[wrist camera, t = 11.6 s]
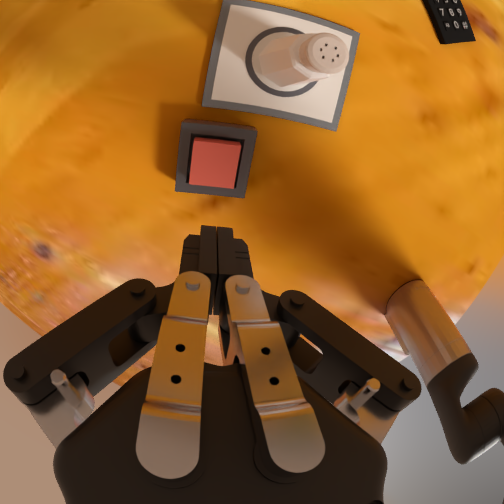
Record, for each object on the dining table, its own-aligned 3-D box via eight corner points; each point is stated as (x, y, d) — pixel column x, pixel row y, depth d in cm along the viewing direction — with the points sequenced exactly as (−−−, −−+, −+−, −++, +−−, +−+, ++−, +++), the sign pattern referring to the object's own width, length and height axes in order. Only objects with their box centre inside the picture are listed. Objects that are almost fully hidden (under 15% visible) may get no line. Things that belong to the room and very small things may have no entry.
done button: (232, 182, 27) (233, 188, 25) (190, 177, 26) (188, 184, 24) (239, 141, 24) (241, 146, 23) (195, 136, 24) (193, 140, 22)
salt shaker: (318, 46, 20) (376, 33, 11) (306, 93, 23) (358, 105, 14) (263, 32, 19) (294, 2, 10) (252, 81, 22) (275, 80, 13)
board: (334, 130, 26) (337, 132, 26) (201, 105, 24) (201, 106, 23) (357, 33, 20) (361, 33, 19) (223, -2, 17) (224, -4, 16)
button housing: (242, 189, 29) (244, 198, 27) (178, 182, 28) (174, 191, 26) (254, 127, 26) (257, 131, 24) (184, 118, 24) (181, 122, 22)
